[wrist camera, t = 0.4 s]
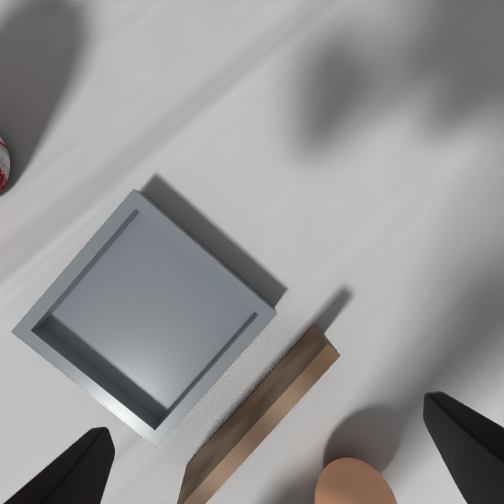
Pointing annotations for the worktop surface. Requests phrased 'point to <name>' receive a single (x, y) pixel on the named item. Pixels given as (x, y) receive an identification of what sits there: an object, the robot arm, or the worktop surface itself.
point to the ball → (352, 484)
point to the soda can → (4, 165)
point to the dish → (145, 318)
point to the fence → (257, 417)
